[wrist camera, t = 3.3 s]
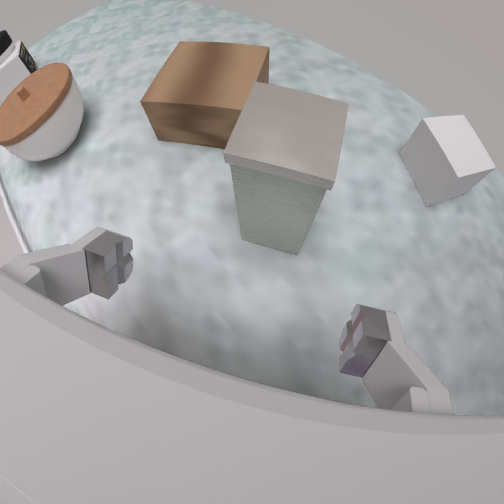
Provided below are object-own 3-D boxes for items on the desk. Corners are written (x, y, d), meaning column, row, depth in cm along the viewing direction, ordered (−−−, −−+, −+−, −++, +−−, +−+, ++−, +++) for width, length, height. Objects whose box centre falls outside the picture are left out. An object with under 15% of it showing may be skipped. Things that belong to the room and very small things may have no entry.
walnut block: (268, 89, 29) (269, 47, 23) (247, 154, 26) (245, 110, 21) (189, 81, 30) (180, 41, 24) (158, 141, 27) (140, 101, 21)
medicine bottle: (37, 81, 32) (4, 33, 20) (5, 107, 31) (-32, 64, 20) (37, 64, 34) (9, 20, 22) (7, 87, 33) (-24, 48, 21)
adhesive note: (398, 154, 26) (422, 117, 21) (437, 147, 27) (463, 114, 21) (425, 207, 25) (458, 177, 19) (464, 195, 25) (496, 167, 19)
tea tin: (311, 204, 25) (348, 104, 13) (298, 257, 24) (334, 181, 12) (256, 189, 25) (255, 81, 14) (239, 240, 24) (223, 152, 12)
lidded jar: (71, 94, 30) (41, 47, 21) (113, 118, 28) (79, 59, 19) (16, 155, 28) (-25, 116, 19) (48, 192, 26) (-5, 148, 17)
